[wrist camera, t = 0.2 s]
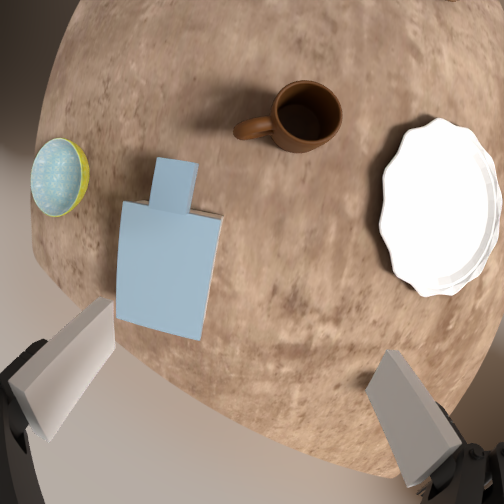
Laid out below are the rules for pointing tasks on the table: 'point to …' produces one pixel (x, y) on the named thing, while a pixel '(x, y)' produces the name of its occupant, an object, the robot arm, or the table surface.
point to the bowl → (59, 177)
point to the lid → (166, 255)
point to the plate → (440, 208)
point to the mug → (297, 118)
